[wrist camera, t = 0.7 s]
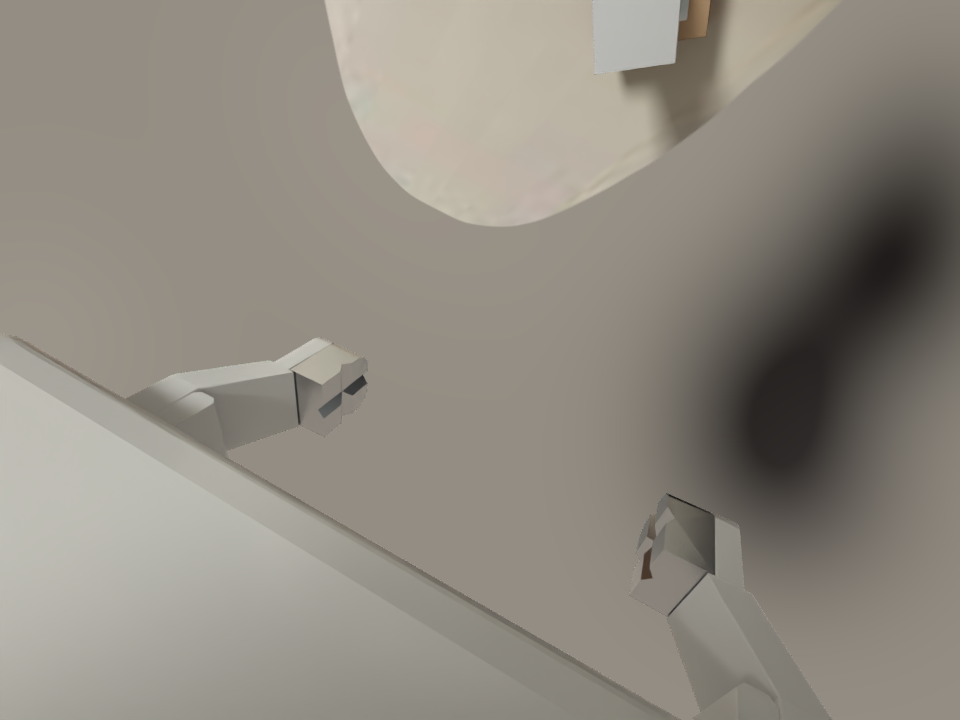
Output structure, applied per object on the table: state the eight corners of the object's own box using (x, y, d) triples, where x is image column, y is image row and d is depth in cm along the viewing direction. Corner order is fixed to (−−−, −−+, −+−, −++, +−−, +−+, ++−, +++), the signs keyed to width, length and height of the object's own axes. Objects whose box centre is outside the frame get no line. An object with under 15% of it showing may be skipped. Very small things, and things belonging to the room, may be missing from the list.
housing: (622, 28, 36) (594, 74, 29) (623, -52, 33) (591, -22, 26) (687, 16, 34) (675, 63, 27) (695, -70, 31) (683, -43, 24)
